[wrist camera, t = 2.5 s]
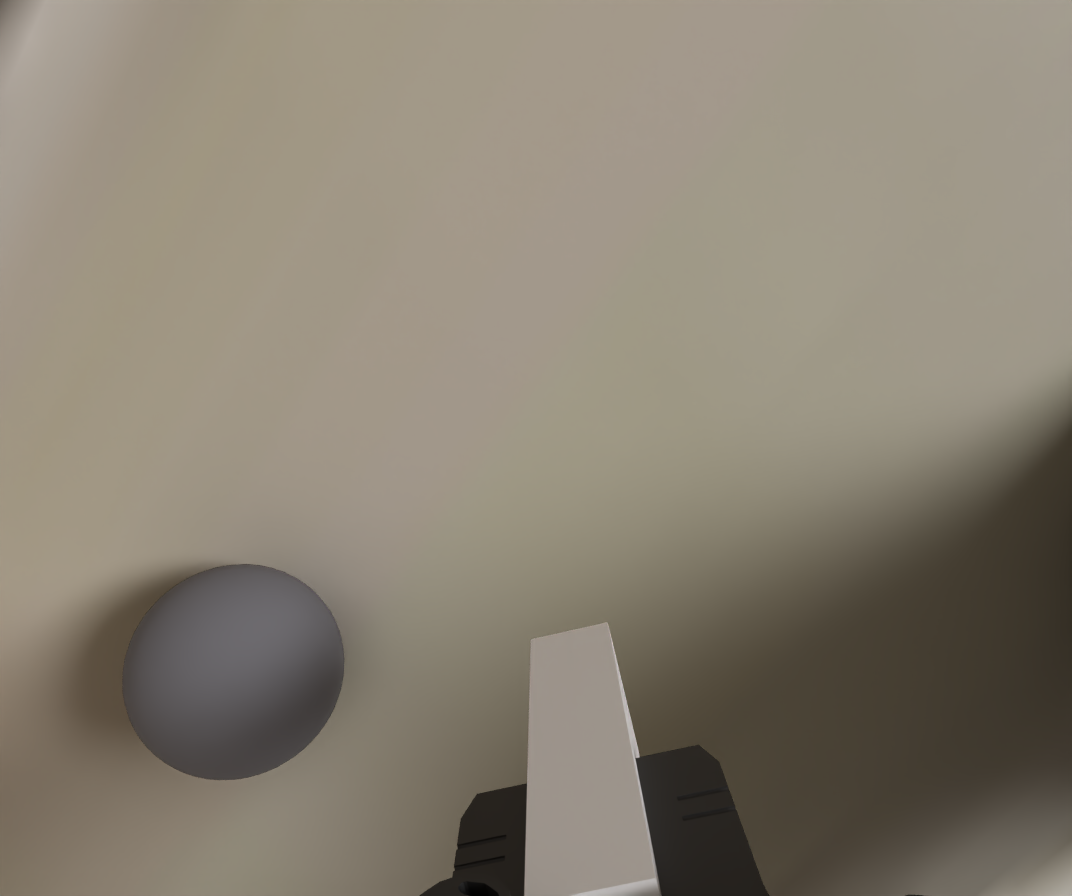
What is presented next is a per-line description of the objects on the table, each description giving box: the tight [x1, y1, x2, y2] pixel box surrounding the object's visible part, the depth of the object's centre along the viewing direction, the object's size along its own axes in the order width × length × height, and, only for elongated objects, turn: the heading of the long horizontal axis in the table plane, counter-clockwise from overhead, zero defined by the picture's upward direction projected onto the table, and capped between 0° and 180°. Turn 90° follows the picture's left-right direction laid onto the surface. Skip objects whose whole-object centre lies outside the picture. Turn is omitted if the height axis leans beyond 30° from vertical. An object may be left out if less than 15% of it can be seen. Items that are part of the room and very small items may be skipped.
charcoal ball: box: [123, 564, 344, 780], centre depth 22 cm, size 6×6×6 cm
